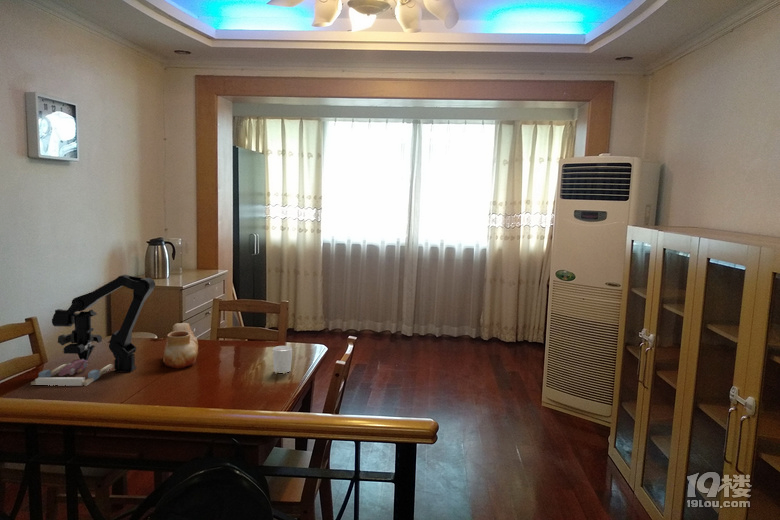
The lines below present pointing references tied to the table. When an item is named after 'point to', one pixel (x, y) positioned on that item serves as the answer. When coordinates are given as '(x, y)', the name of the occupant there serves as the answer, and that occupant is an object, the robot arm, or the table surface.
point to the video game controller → (73, 367)
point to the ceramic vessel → (180, 347)
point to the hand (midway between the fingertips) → (83, 364)
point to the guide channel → (68, 381)
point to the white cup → (282, 358)
